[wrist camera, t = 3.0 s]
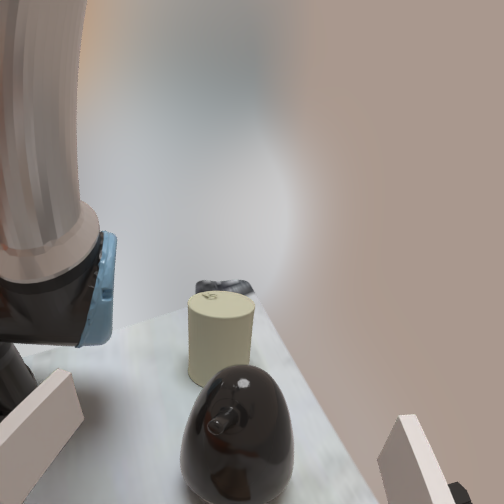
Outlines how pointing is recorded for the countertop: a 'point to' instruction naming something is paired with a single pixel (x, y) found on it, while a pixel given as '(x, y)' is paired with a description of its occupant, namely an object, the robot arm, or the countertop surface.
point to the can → (218, 332)
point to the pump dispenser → (238, 439)
